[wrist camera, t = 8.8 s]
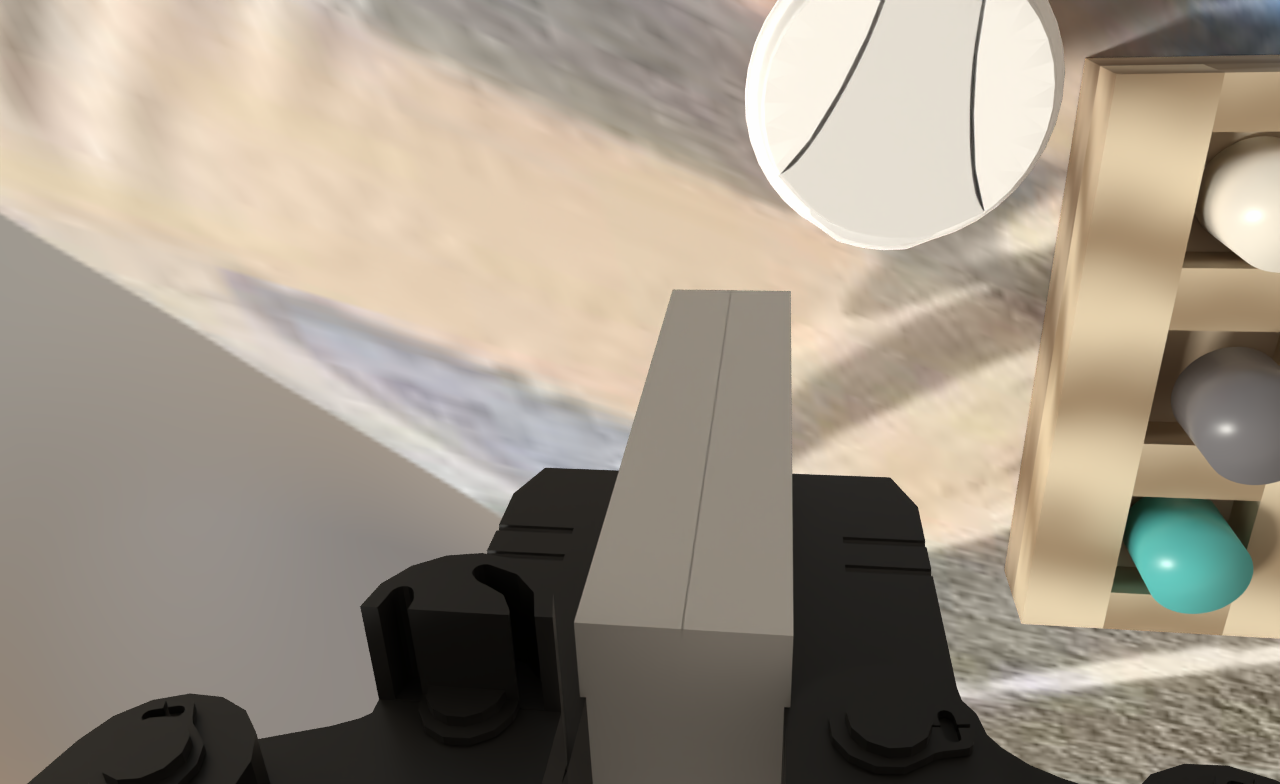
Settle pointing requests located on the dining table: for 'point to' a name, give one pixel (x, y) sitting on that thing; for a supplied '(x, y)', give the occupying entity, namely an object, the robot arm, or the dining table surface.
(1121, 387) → the wooden button tray
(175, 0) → the dining table surface
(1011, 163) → the coffee cup
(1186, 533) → the teal button
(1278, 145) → the white rounded cylinder
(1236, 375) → the gray button
